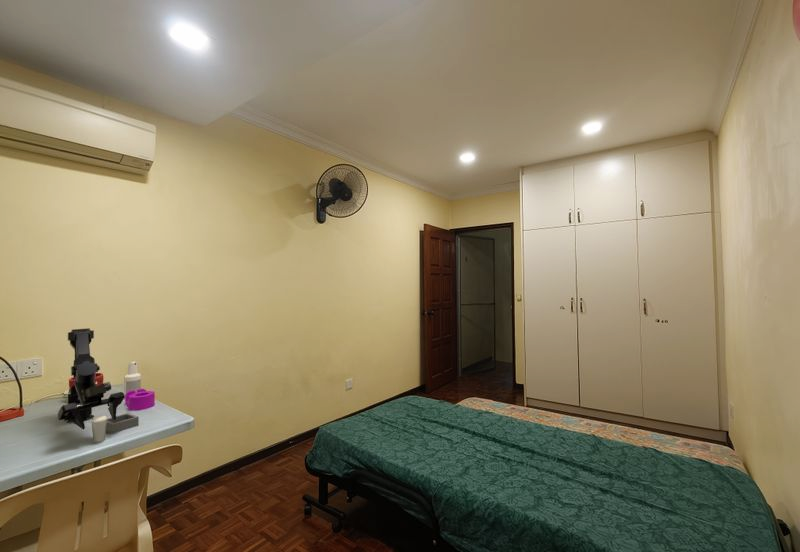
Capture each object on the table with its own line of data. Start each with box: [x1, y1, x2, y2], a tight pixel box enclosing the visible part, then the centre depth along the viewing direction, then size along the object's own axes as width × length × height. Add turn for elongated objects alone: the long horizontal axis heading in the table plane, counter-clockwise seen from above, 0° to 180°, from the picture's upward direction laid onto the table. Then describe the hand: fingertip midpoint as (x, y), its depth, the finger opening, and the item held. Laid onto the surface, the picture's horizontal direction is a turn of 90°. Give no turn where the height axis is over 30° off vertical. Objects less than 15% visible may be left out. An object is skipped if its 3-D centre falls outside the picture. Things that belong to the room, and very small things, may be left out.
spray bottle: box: [123, 361, 142, 395], centre depth 181 cm, size 7×7×18 cm
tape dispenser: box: [124, 388, 156, 412], centre depth 168 cm, size 16×10×6 cm, turn 50°
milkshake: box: [90, 414, 108, 444], centre depth 130 cm, size 4×5×10 cm
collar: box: [106, 412, 139, 435], centre depth 142 cm, size 9×9×4 cm
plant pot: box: [68, 372, 105, 391], centre depth 177 cm, size 13×13×12 cm
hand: (99, 424), depth 129 cm, fingers open, 9 cm apart
